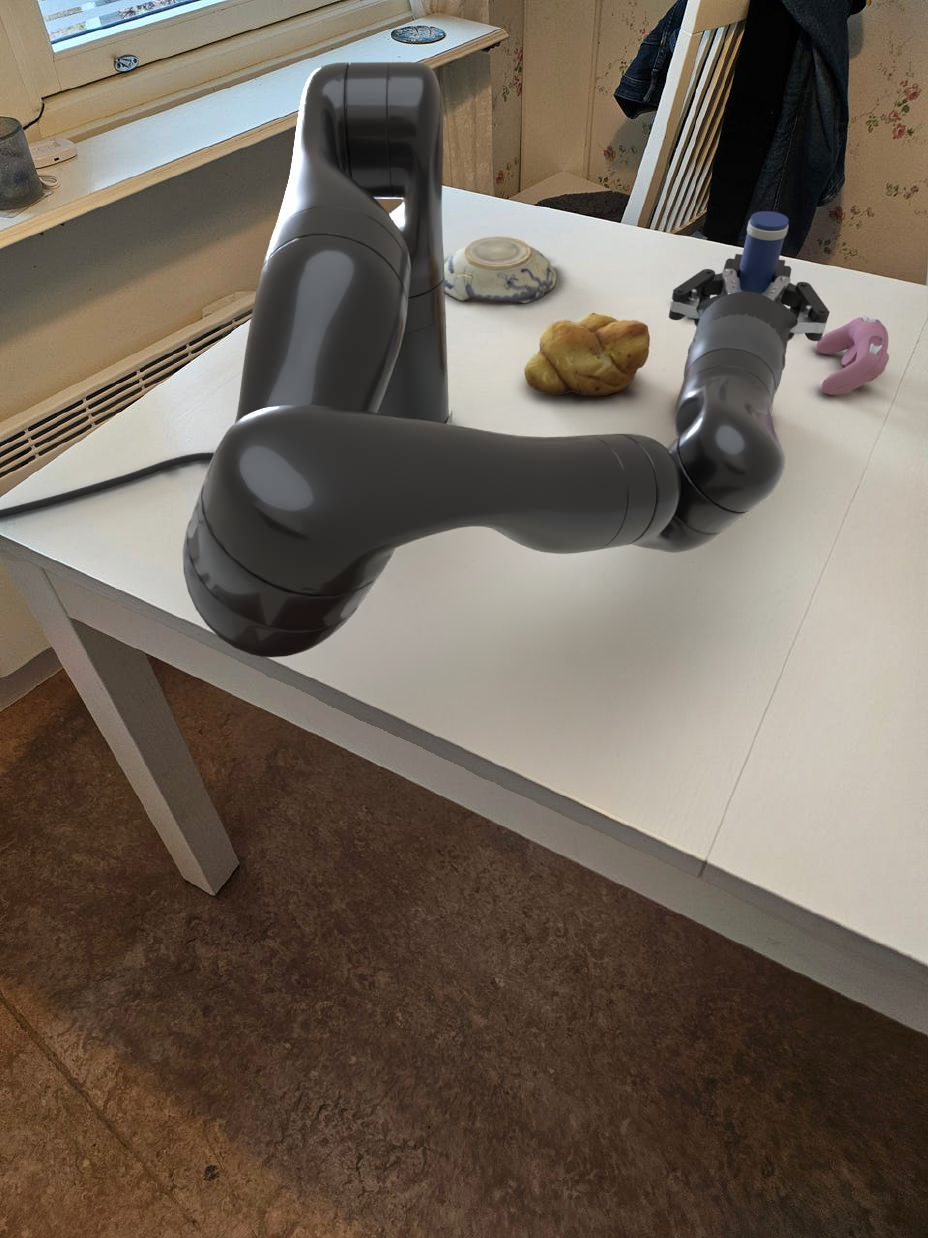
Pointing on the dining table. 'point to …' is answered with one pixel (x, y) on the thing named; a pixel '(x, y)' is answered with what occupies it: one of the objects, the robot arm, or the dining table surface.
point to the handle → (762, 250)
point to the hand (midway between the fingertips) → (758, 267)
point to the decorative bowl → (498, 271)
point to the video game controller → (855, 354)
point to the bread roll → (588, 356)
